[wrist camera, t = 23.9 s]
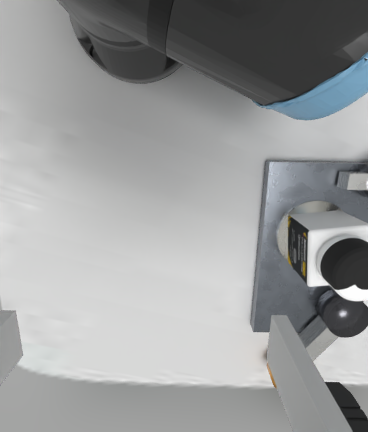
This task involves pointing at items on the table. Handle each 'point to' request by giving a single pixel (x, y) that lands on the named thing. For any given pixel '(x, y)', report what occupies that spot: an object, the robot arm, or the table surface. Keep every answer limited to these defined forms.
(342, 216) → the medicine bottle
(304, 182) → the dark grey base plate
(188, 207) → the table surface
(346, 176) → the knob
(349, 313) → the ball lever handle
